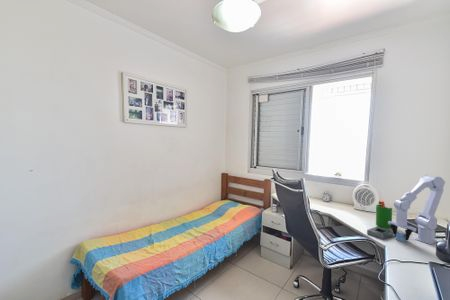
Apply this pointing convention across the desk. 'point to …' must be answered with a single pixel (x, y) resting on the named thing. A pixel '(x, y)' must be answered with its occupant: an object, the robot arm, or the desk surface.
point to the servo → (401, 236)
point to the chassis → (380, 232)
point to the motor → (383, 215)
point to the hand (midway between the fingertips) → (401, 238)
